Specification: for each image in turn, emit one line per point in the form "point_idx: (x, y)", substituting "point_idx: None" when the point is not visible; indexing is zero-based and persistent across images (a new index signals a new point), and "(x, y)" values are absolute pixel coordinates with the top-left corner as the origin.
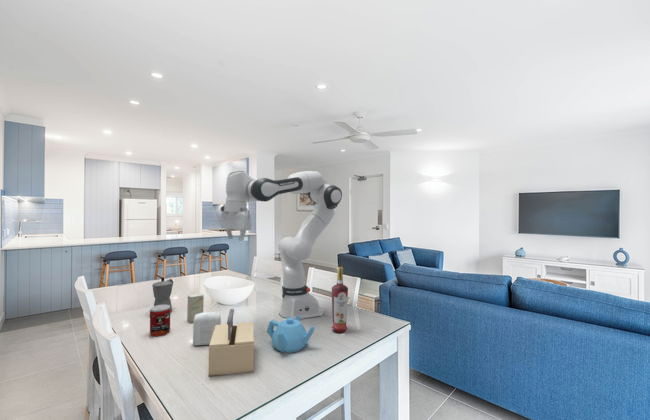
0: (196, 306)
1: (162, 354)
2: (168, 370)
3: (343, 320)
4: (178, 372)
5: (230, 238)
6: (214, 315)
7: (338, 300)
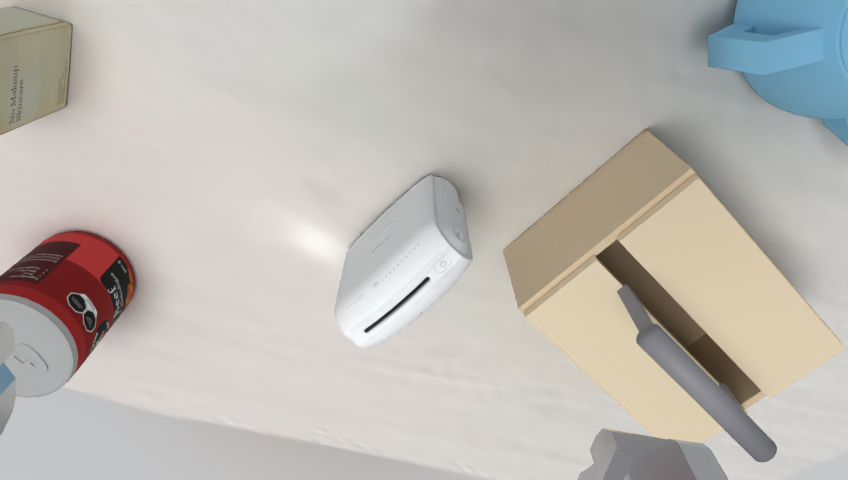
0: (10, 91)
1: (337, 377)
2: (476, 423)
3: None
4: (519, 414)
5: (10, 387)
6: (450, 283)
7: None
